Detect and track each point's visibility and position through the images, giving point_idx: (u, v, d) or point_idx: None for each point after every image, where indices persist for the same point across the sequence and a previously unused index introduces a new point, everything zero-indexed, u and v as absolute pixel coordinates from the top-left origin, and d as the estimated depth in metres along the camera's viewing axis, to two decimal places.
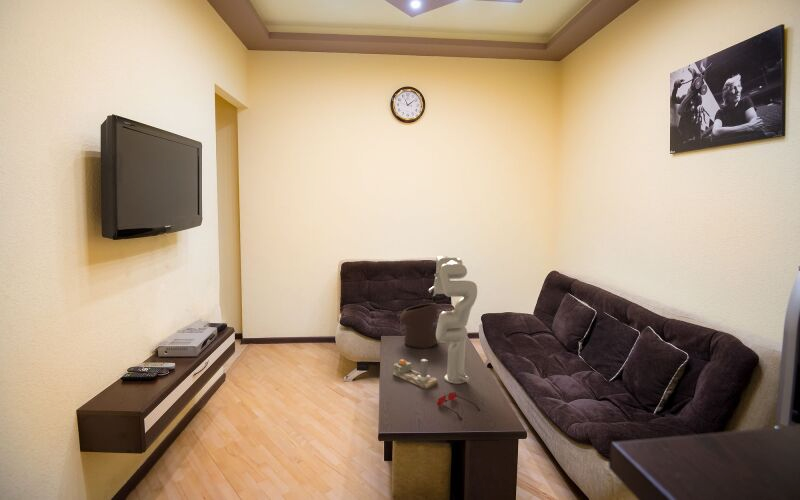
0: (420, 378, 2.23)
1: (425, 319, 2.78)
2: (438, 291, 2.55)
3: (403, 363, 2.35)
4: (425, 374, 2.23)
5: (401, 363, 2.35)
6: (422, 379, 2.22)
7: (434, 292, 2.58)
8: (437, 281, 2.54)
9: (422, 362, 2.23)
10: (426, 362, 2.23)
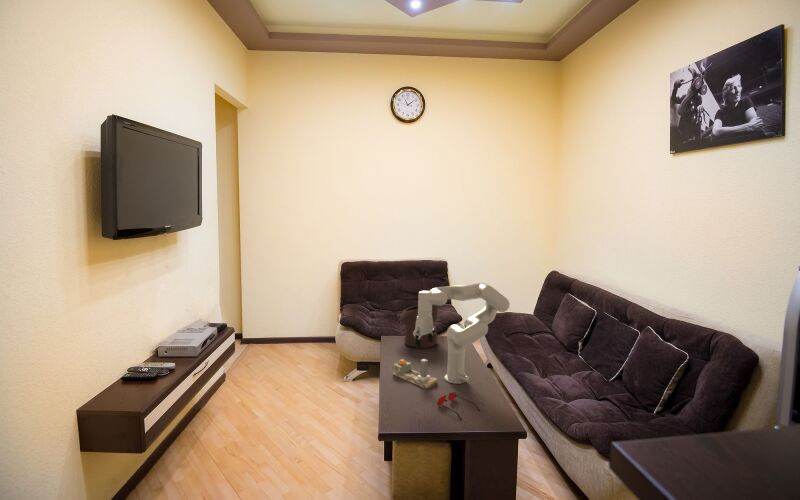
0: (420, 378, 2.23)
1: None
2: None
3: (403, 363, 2.35)
4: (425, 374, 2.23)
5: (401, 363, 2.35)
6: (422, 379, 2.22)
7: None
8: None
9: (422, 362, 2.23)
10: (426, 362, 2.23)
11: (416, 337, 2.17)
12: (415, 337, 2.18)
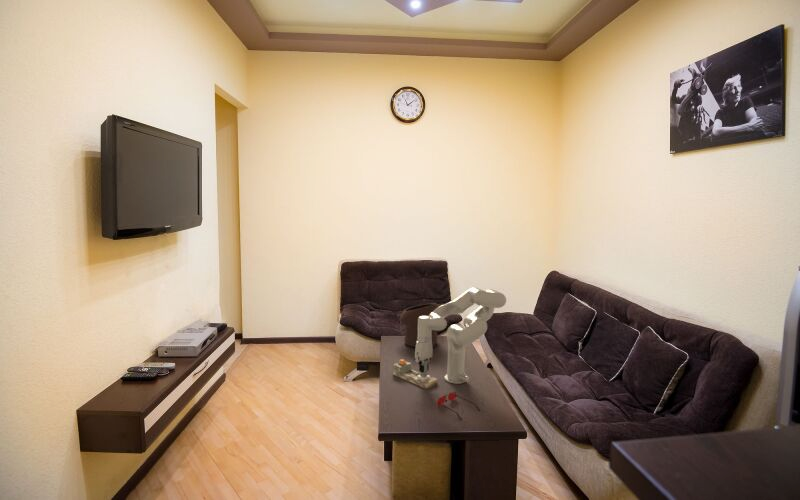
0: (420, 378, 2.23)
1: None
2: None
3: (403, 363, 2.35)
4: (425, 374, 2.23)
5: (401, 363, 2.35)
6: (422, 379, 2.22)
7: None
8: None
9: None
10: (426, 362, 2.23)
11: (420, 363, 2.20)
12: (419, 363, 2.21)
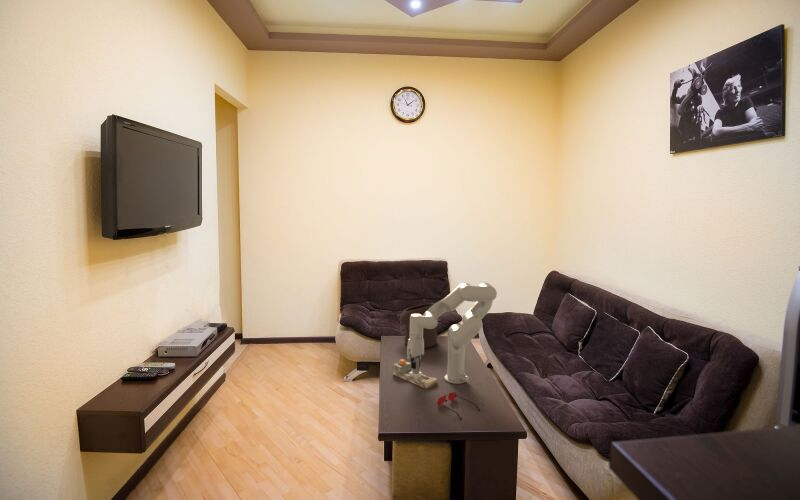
0: (412, 375, 2.27)
1: None
2: None
3: (403, 363, 2.35)
4: (417, 371, 2.28)
5: (401, 363, 2.35)
6: (414, 376, 2.26)
7: None
8: None
9: None
10: (418, 359, 2.28)
11: (411, 360, 2.25)
12: (410, 360, 2.26)
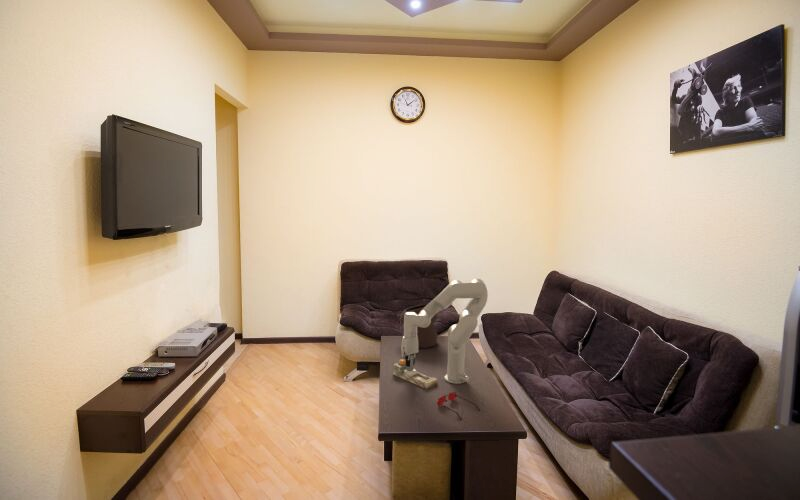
0: (406, 372, 2.31)
1: None
2: None
3: (403, 363, 2.35)
4: (411, 368, 2.31)
5: (401, 363, 2.35)
6: (408, 373, 2.30)
7: None
8: None
9: None
10: (412, 357, 2.31)
11: (406, 358, 2.28)
12: (405, 358, 2.29)
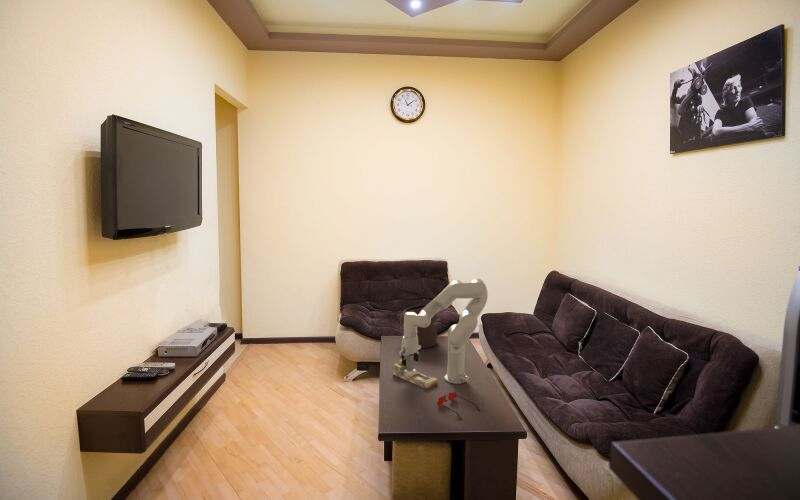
0: (406, 372, 2.31)
1: None
2: None
3: None
4: (411, 368, 2.31)
5: (401, 363, 2.35)
6: (408, 373, 2.30)
7: None
8: None
9: (408, 357, 2.31)
10: (412, 357, 2.31)
11: (402, 357, 2.26)
12: (401, 357, 2.27)
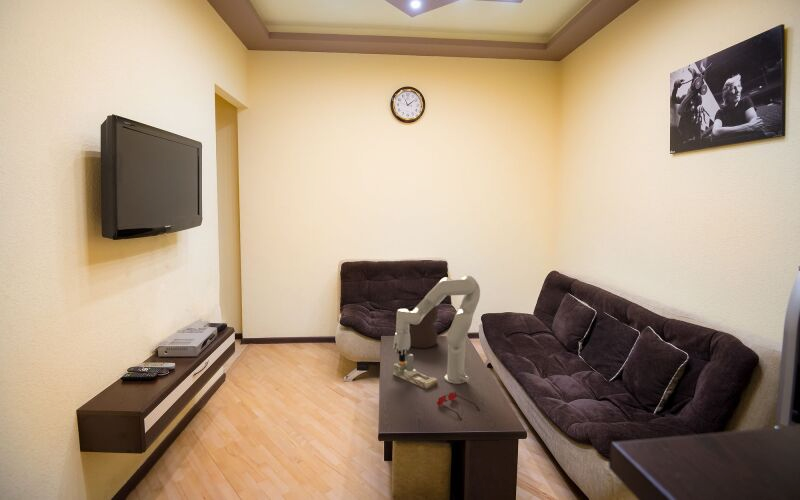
0: (406, 372, 2.31)
1: (425, 319, 2.78)
2: None
3: (403, 363, 2.35)
4: (411, 368, 2.31)
5: (401, 363, 2.35)
6: (408, 373, 2.30)
7: None
8: None
9: (408, 357, 2.31)
10: (412, 357, 2.31)
11: (399, 353, 2.33)
12: (398, 353, 2.34)
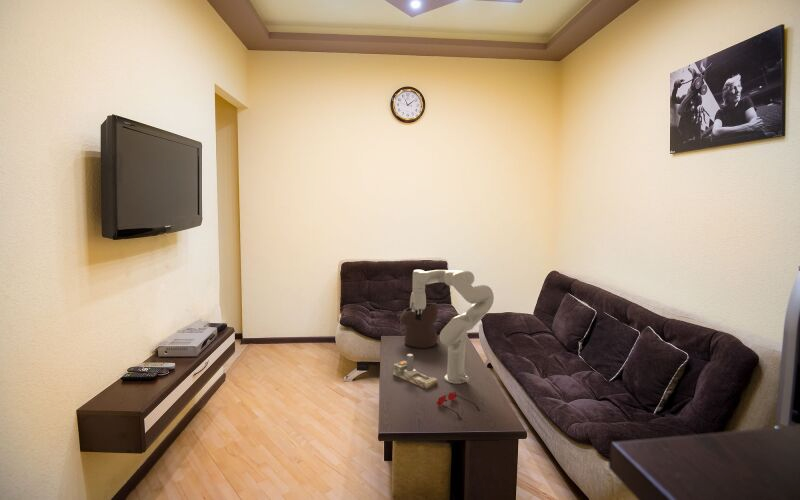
0: (406, 372, 2.31)
1: (425, 319, 2.78)
2: None
3: None
4: (411, 368, 2.31)
5: None
6: (408, 373, 2.30)
7: None
8: None
9: (408, 357, 2.31)
10: (412, 357, 2.31)
11: (416, 312, 2.43)
12: (415, 312, 2.44)
